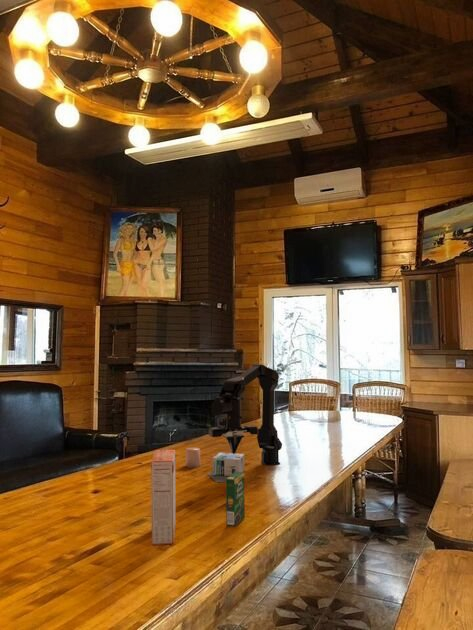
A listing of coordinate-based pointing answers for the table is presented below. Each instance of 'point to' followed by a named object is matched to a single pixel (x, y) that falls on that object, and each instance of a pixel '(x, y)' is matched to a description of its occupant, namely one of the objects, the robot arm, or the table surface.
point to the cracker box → (163, 497)
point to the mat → (218, 477)
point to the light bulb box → (228, 464)
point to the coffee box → (235, 499)
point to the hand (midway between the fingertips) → (233, 453)
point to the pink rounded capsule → (192, 457)
